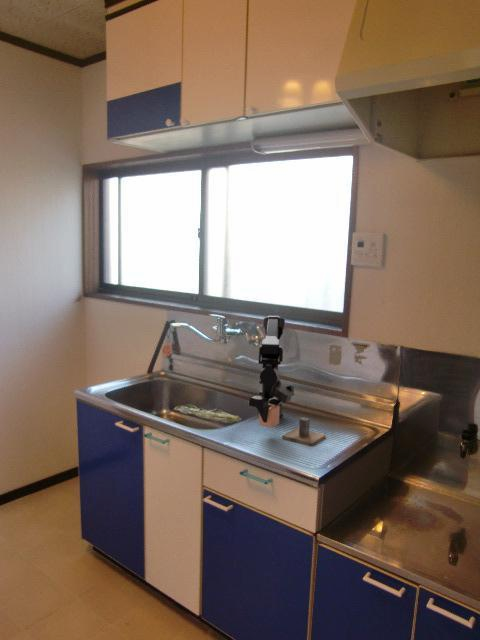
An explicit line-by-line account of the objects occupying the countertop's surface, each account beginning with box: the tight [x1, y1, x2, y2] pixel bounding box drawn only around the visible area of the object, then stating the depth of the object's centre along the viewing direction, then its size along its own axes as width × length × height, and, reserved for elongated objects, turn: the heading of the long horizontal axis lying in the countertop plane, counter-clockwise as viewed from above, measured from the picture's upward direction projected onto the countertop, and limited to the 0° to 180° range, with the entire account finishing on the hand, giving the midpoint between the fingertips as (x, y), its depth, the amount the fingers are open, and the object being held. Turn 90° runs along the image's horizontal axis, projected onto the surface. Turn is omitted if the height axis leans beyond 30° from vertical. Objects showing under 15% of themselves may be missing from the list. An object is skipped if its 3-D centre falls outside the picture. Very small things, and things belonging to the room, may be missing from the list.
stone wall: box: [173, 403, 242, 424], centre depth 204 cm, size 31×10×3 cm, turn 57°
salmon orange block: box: [258, 404, 280, 428], centre depth 179 cm, size 5×5×7 cm
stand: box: [281, 416, 327, 447], centre depth 179 cm, size 12×10×7 cm
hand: (269, 420), depth 180 cm, fingers closed on salmon orange block, 5 cm apart
